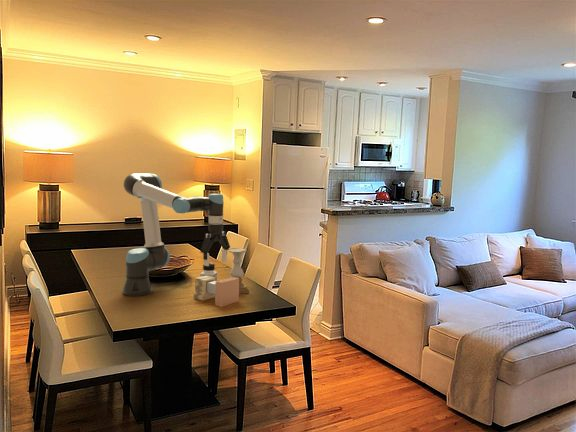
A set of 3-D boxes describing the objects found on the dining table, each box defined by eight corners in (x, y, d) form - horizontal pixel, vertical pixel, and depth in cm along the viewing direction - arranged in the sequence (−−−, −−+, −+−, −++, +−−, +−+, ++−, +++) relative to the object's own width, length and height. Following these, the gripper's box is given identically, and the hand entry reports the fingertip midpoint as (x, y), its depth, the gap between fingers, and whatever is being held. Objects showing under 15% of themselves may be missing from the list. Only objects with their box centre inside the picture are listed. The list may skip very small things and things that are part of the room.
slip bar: (198, 289, 262) (198, 280, 262) (205, 287, 266) (205, 278, 266) (218, 294, 253) (219, 285, 253) (225, 292, 258) (225, 283, 257)
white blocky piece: (193, 297, 261) (193, 278, 260) (207, 294, 269) (207, 275, 268) (202, 300, 257) (203, 280, 256) (216, 296, 265) (216, 277, 264)
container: (212, 287, 284) (212, 265, 282) (199, 286, 285) (200, 264, 284) (217, 284, 291) (217, 262, 290) (204, 283, 293) (205, 261, 291)
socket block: (215, 305, 250) (215, 281, 248) (232, 299, 260) (233, 276, 259) (221, 306, 247) (221, 282, 246) (238, 301, 258) (239, 278, 256)
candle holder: (230, 295, 269) (231, 252, 267) (223, 290, 279) (224, 248, 276) (249, 293, 274) (250, 250, 272) (241, 288, 284) (242, 247, 281)
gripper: (204, 226, 244) (204, 268, 246) (236, 222, 265) (236, 261, 267) (193, 225, 248) (193, 266, 250) (226, 220, 269) (225, 259, 271)
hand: (215, 263), depth 259 cm, fingers open, 13 cm apart
